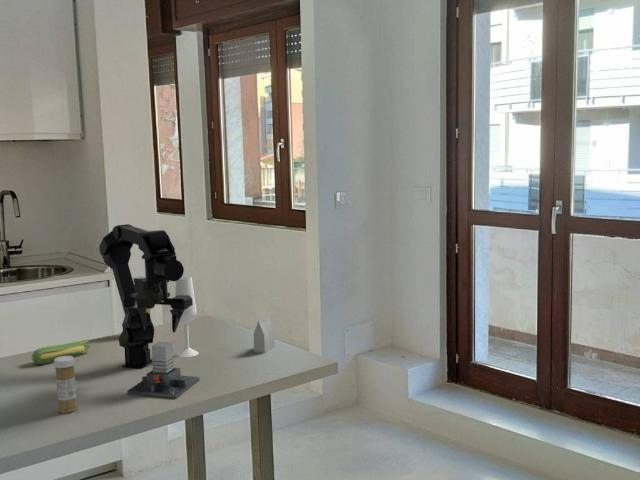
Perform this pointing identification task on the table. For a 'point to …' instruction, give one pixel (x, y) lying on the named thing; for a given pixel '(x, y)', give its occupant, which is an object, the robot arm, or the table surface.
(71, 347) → the edible corn
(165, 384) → the jack base
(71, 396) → the sprinkles bottle
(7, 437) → the table surface
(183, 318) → the champagne flute
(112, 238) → the robot arm
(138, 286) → the sauce bottle
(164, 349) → the block
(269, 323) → the white gable top carton
